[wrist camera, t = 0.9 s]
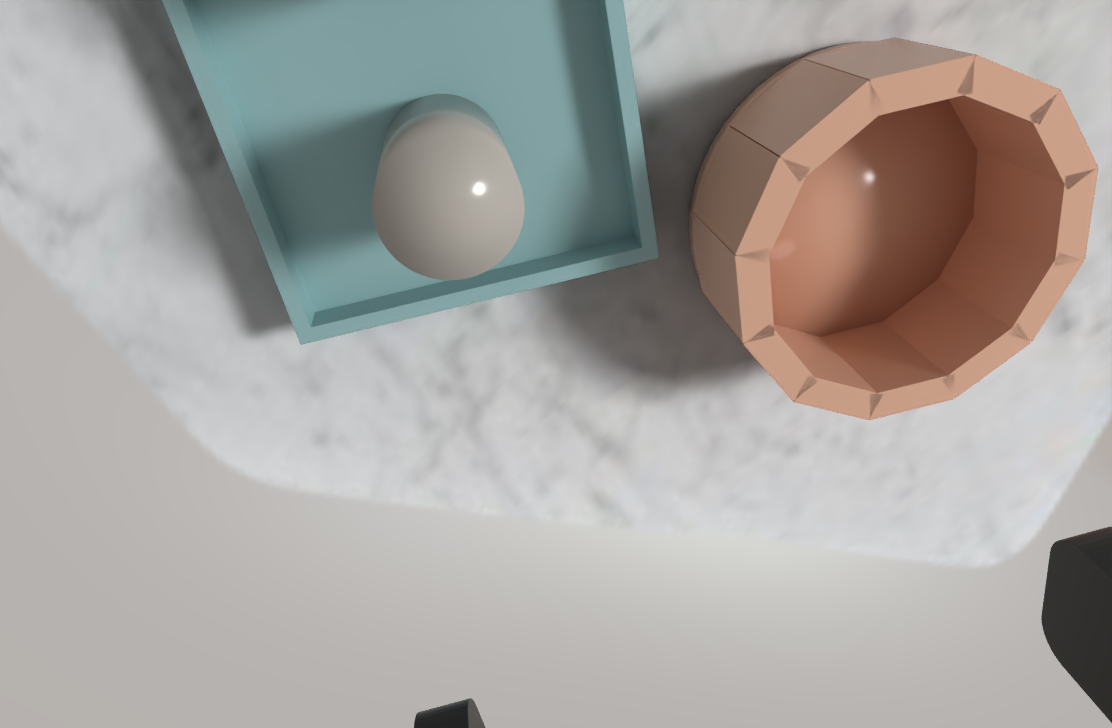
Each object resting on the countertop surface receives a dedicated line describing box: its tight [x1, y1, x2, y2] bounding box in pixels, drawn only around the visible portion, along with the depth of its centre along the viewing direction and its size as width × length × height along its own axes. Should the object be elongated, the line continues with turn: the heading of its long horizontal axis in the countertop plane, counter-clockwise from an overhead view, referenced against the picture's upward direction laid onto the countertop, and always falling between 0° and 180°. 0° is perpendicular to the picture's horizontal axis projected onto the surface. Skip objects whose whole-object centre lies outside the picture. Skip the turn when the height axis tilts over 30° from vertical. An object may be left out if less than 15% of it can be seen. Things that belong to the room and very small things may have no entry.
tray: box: [162, 0, 659, 345], centre depth 23 cm, size 16×12×2 cm
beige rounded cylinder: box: [372, 94, 525, 280], centre depth 22 cm, size 4×4×6 cm
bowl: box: [689, 38, 1098, 420], centre depth 26 cm, size 11×11×5 cm
